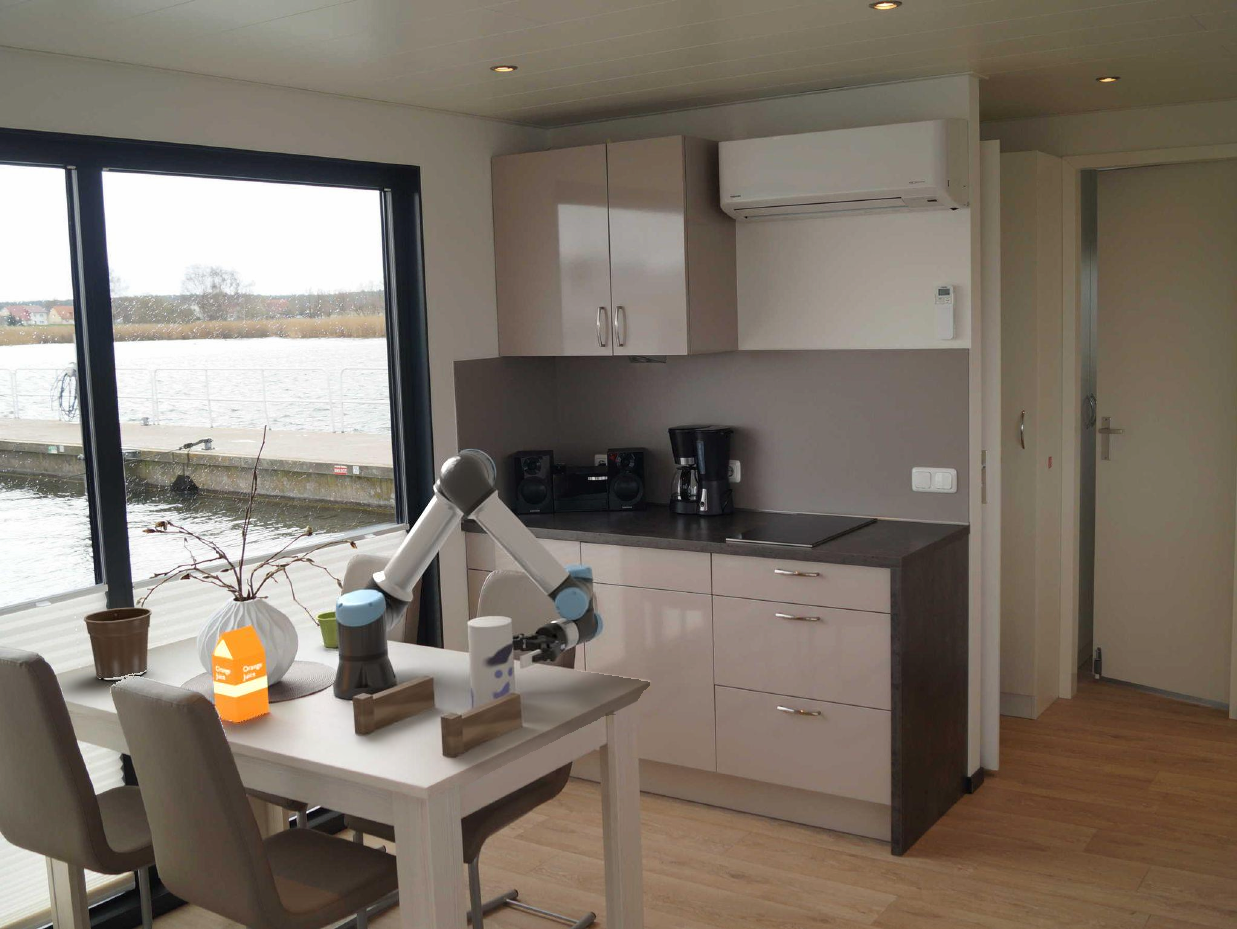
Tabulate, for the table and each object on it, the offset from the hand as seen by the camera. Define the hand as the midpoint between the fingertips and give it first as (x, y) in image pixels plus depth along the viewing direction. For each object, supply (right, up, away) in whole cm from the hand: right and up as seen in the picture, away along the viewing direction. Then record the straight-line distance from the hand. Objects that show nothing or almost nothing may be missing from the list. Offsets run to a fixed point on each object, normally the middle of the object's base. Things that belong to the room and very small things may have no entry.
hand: (498, 658), depth 258 cm
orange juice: (-58, -13, +1) cm, 60 cm away
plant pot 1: (-102, -11, +38) cm, 109 cm away
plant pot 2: (-52, -7, +60) cm, 79 cm away
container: (-1, -11, 0) cm, 11 cm away
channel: (-11, -13, -13) cm, 21 cm away
